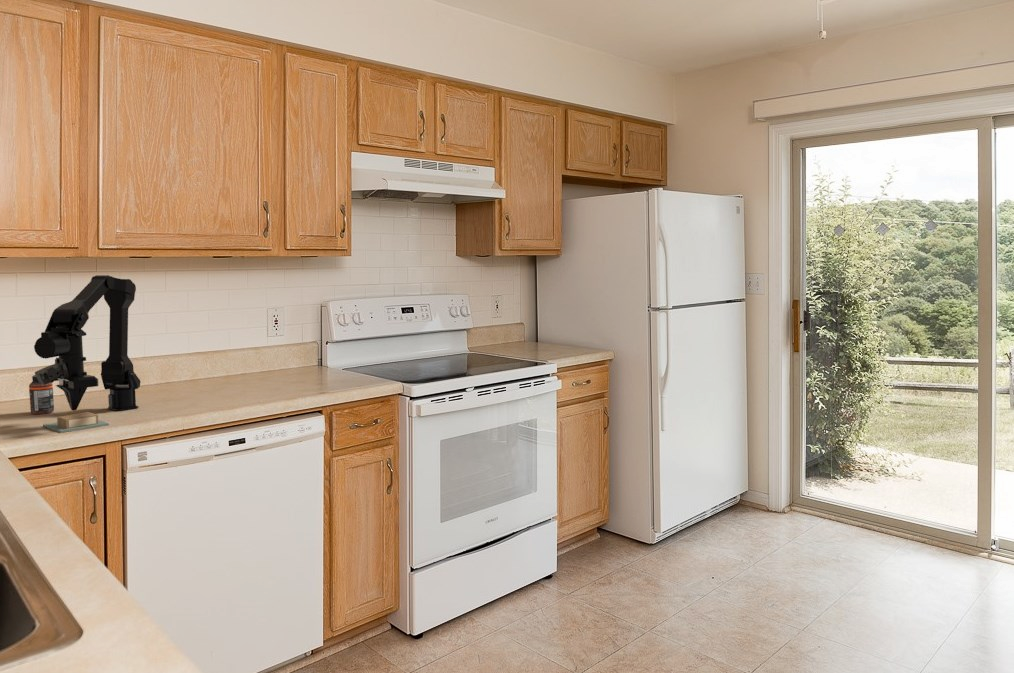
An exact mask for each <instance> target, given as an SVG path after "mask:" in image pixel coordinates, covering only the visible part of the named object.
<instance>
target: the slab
mask: <svg viewBox="0 0 1014 673" xmlns="http://www.w3.org/2000/svg"><path fill="white" fill-rule="evenodd" d="M98 420H99V414H96V413H93V412H90V411H86V412H80V413H74V414H66V415H60V416H56V421H57V425H58V426H60V427H62V428H65V429H70V428H76V427H82V426H88V425H95V424H98Z"/></svg>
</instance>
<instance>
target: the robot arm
mask: <svg viewBox="0 0 1014 673" xmlns="http://www.w3.org/2000/svg"><path fill="white" fill-rule="evenodd" d="M136 291H137V287H136V284H135V283H134V282H133V280H132V279H129V278H117V277H114V276H110V275H107V274H105V275H104V274H103V275H102V274H100V275H97V274H96V275H94V276H92V277H91V280H90V281H89V282H88V283H87V285H86V286H84V288H82V290H81V291H80V292H79V293H78V294H77V295H76V296H75V297H74V298H73V299H72V300H70V301H68V302H65V303H63V304H60V305H59V306H58V307H56V308H55V309H54V310H53V311H52V313H51V316H50V318H49V320H48V322H47V325H46V327H45V329H44V331H42V332H41V333H40V337H39V338H37V339H36V341H35V343H34V345H33V349H34V353H35V354H36V355H37V356H38V357H39V358H41V359H51V358H55V359H54V363H53V364H51V365H48V366H45V367H43V368H41V369H39V370H37V371H34V375H36V377H37V379H38V381H39V383H43V384H48V383H52V384H53V383H54V382H58V384H56V385H55V386H56V387H57V388H58V389H60V390H62V391H63V393H64V395H65V397H66V400H67V403H68V405H69V408H70V410H71V411H77V410H78V408H79V406H80V403H81V402H82V399H83V397H84V395H85V393H86V392H87V389H88V388H94V387H98V386H99V378H97V377H96V376H95V375H91V374H88V372H87V371H84V370H85V367H84V362H86V361H87V357H86V356H84V350H83V348H84V347H83V337H85V336H87V332H86V331H84V330H83V328H84V327H85V325H86V324H87V322H88V320H89V319H90V317H89V313H90V311H91V310H92V308H93V307H94V306H95V305H96V304H97V303H98V302H99V301H100V300H101V298H102V297H103V299H104V301H105V302H106V304H107V306H108V307H109V331H108V332H109V333H108V334H109V342H108V344H109V345H108V349H109V350H108V356H107V358H106V360H104V361H101V363H100V367H101V370H100V377H101V380H102V381H101V382H102V385H103V388H104V390H109V393H108V396H107V397H108V400H107V401H108V406H107V408H108V410H113V411H116V412H117V411H125V410H131V409H133V410H134V409H139V405H137V402H136V397H137V396H136V390H138V389H140V387H141V380H140V378H139V377H138V375H137V373H136V372H135V370H134V363H133V362H132V360H131V359H130V357H129V356H128V352H129V351H128V348H129V347H128V345H129V344H128V340H129V308H130V307H131V306H132V304H133V302H135V297H136Z"/></svg>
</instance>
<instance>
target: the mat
mask: <svg viewBox="0 0 1014 673" xmlns="http://www.w3.org/2000/svg"><path fill="white" fill-rule="evenodd" d="M104 426H109V422H106V421H102V420H100V419H98V424H95V425H88V426H82V427H76V428H70V429H65V428H62V427H60V426H58V425H57V422H52V423H44V424H42V427H43V428H46V427H47V429H49V430H53V431H54V432H58V433H62V434H63V433H67V432H74V431H80V430H87V429H92V428H99V427H104Z"/></svg>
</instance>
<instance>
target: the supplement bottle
mask: <svg viewBox="0 0 1014 673" xmlns="http://www.w3.org/2000/svg"><path fill="white" fill-rule="evenodd" d="M28 389H29V390H28V394H29V404H30V406H29V407H30V408H29V410H30V414H32V415H46V414H50V413H51V414H52V413H53V412H54V411H55V402H54V401H55V400H54V399H55V398H54V385H53V383H48V384H43V383H39V381H38V379H37V377H36V375H35V374H33V375H32V376H31V383H29V385H28Z"/></svg>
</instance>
